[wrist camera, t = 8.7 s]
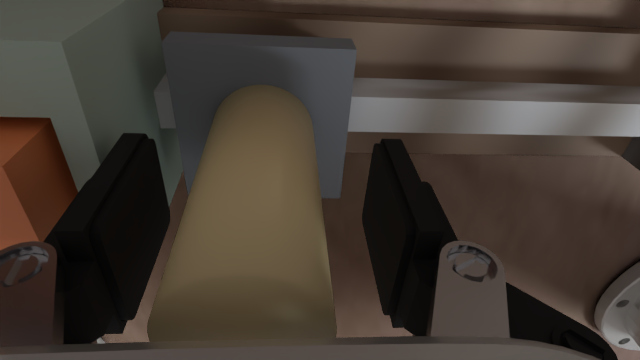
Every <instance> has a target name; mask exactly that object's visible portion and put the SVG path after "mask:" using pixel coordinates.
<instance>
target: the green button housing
mask: <svg viewBox="0 0 640 360" xmlns="http://www.w3.org/2000/svg"><path fill="white" fill-rule="evenodd" d="M162 8H163V1H162V0H0V117H40V118H50V119H51V121H52V124H53V127H54V129H55V132H56V135H57V137H58V140H59V143H60V145H61V148H62V150H63V153H64V156H65V158H66V161H67V164H68V166H69V169H70V172H71V174H72V177H73V180H74V182H75V185H76V188H77V190H78V192H79V191H80V190H81V188H82V187H83V185H84V184H85V183H86V182H87V181H88V180H89V179H91V177H92V176H93V175H94V173H95V172H96V170H97V169H98V168H99V166H100V165H101V163H102V162H103V161H104V159H105V158H106V156H107V155H108V153H109V152H110V151H111V149H112V148H113V146H114V145H115V144H116V142H117V141H118V139H119V138H120V137H121V135H122V134H123V133H145V134H147V136H148V138H149V139H154V140H155V143H156V147H157V152H158V157H159V162H160V166H161V171H162V176H163V181H164V186H165V190H166V195H167V200H168V205H169V207H170V204H171V201H172V199H173V196H174V193H175V191H176V188H177V185H178V183H179V180H180V177H181V175H182V172H183V165H182V159H181V153H180V147H179V142H178V136H177V130H176V128H161V127H160V122H159V117H158V112H157V107H156V102H155V97H154V90H155V89H156V87H157V86H158V84H159V83H160V81H161V80H162V78H163V77H164V75H165V74H166V67H165V61H164V55H163V49H162V44H161V42H162V40H161V35H160V29H159V23H158V17H157V12H159V11H160V10H161V9H162Z"/></svg>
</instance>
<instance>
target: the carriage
mask: <svg viewBox="0 0 640 360" xmlns="http://www.w3.org/2000/svg"><path fill="white" fill-rule="evenodd" d="M161 44H162V49H163V55H164V61H165V67H166V72H167V78H168V84H169V90H170V95H171V101H172V107H173V113H174V119H175V124H176V130H177V136H178V142H179V147H180V153H181V159H182V165H183V170H184V176H185V182H186V188H187V193H188V199H187V202H186V205H185V209H184V212H183V215H182V218H181V221H180V224H179V227H178V230H177V233H176V236H175V239H174V243H173V246H172V249H171V252H170V255H169V258H168V261H167V264H166V267H165V270H164V273H163V277H162V280H161V283H160V286H159V289H158V292H157V295H156V298H155V301H154V304H153V307H152V310H151V314H150V317H149V320H148V324H147V333H148V337H149V341H150V342H168V341H209V340H251V339H295V338H335V337H336V330H337V326H336V318H335V309H334V301H333V292H332V284H331V275H330V267H329V259H328V250H327V242H326V233H325V225H324V216H323V208H322V200H321V198H340V195H341V186H342V177H343V168H344V159H345V151H346V142H347V133H348V124H349V115H350V106H351V98H352V89H353V80H354V71H355V62H356V53H357V49H356V47H355V45H354V42H353V40H352V39H349V38H324V37H299V36H274V35H249V34H224V33H199V32H174V31H171V32H170V33H169V34H168V35H167V36H166V37H165V39H164V40H163V41H162V42H161Z"/></svg>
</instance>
